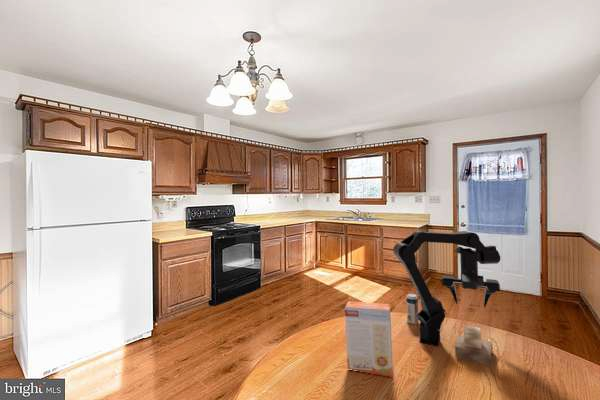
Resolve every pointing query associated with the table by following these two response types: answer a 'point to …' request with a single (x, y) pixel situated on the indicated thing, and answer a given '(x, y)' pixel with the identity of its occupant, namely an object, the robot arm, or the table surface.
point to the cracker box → (369, 338)
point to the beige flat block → (474, 351)
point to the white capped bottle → (412, 308)
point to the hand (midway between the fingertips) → (470, 305)
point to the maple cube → (472, 337)
